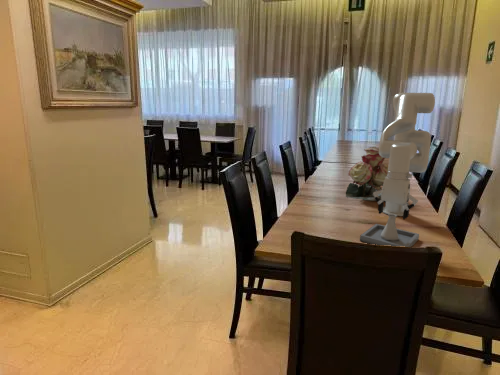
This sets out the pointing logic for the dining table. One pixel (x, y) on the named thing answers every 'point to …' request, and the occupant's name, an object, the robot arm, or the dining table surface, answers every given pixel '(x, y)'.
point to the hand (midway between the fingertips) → (392, 215)
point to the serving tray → (375, 238)
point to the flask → (390, 229)
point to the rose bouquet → (367, 175)
